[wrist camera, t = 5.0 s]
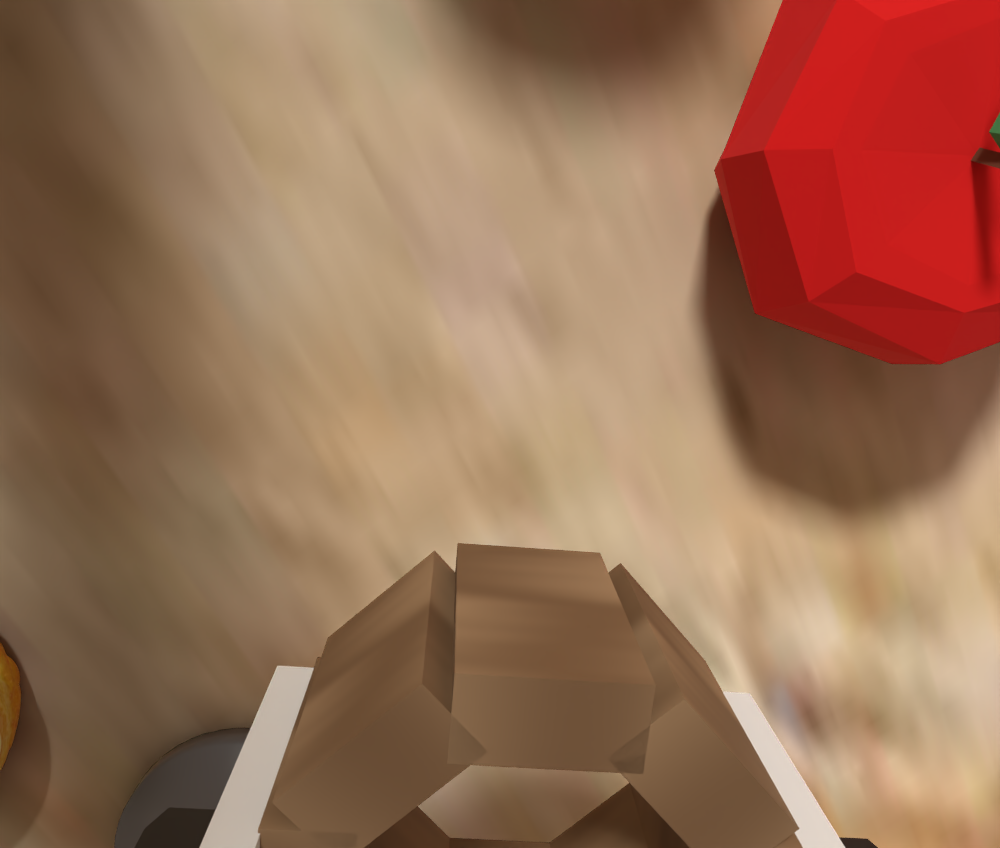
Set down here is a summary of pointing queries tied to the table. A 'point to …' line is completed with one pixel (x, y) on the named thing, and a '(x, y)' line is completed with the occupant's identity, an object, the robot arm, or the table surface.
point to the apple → (873, 176)
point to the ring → (518, 712)
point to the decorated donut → (8, 703)
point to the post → (182, 781)
